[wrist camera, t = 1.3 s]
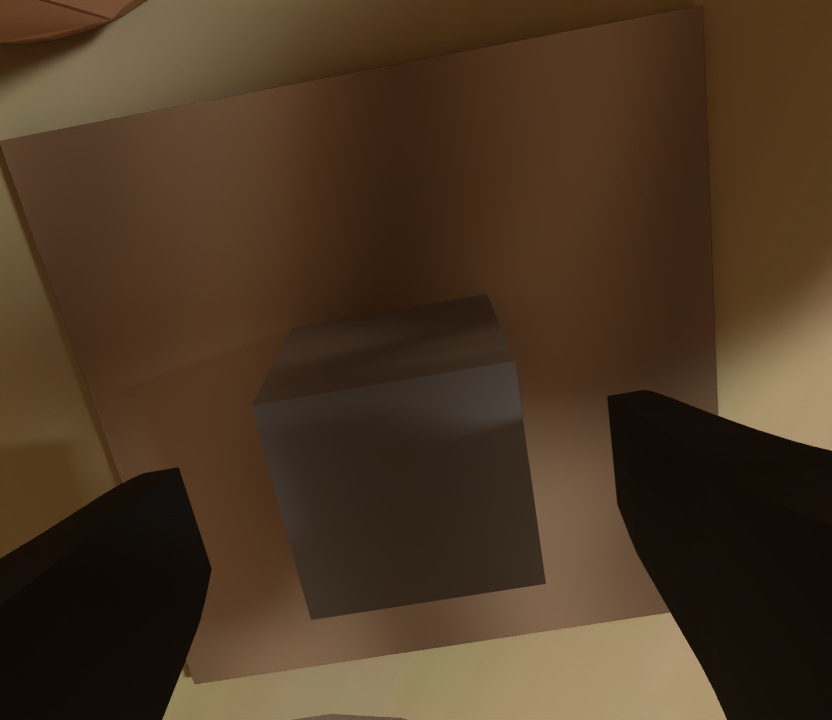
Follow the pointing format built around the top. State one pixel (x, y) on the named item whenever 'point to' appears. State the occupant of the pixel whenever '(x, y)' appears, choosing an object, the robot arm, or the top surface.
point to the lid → (395, 330)
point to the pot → (56, 18)
